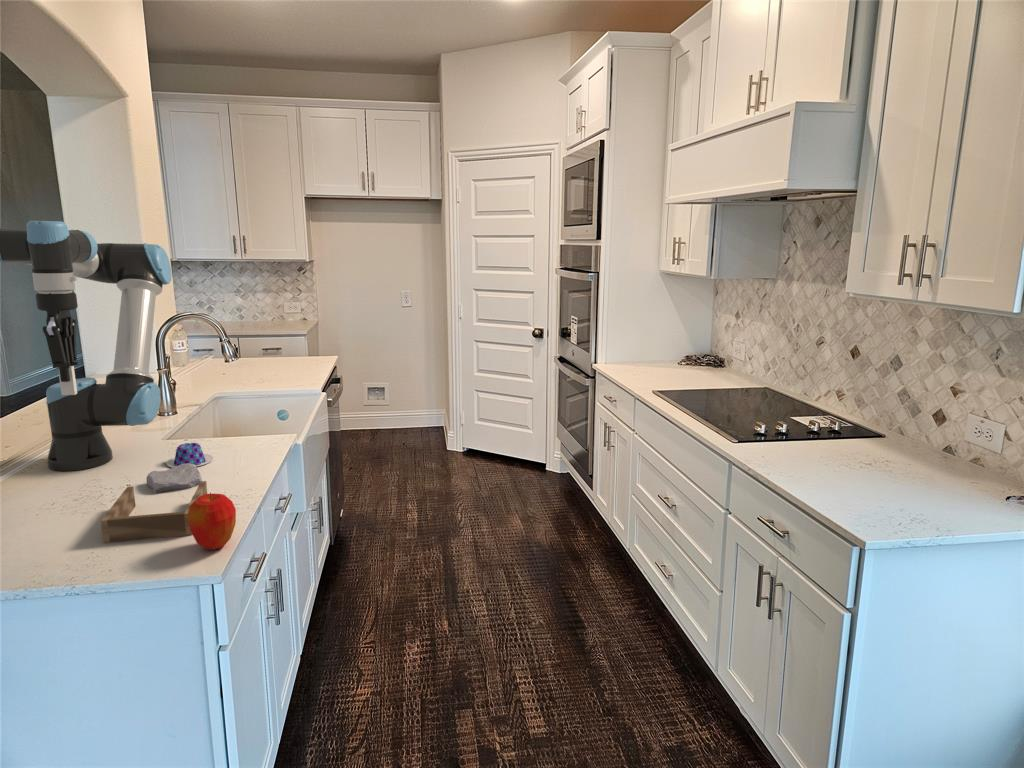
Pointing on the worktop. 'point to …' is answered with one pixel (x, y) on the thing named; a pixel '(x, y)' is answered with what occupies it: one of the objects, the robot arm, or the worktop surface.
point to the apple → (212, 520)
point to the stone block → (174, 478)
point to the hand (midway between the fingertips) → (69, 394)
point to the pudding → (189, 455)
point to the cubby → (144, 520)
